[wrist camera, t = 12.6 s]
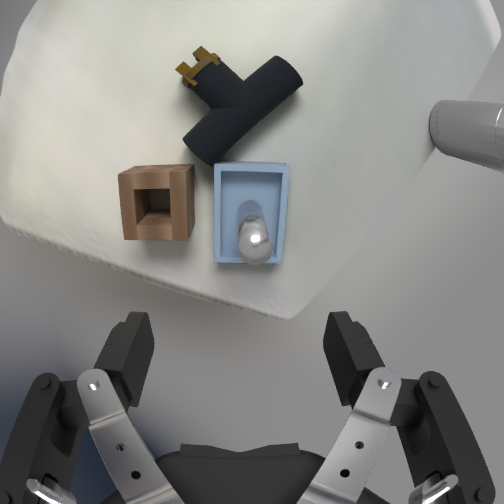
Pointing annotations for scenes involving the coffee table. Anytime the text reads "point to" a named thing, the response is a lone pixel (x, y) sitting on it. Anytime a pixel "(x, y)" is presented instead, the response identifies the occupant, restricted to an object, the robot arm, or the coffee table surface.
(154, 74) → the coffee table surface
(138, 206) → the pin block
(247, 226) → the pin
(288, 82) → the pipe connector
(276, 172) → the tray
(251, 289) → the coffee table surface
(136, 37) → the coffee table surface
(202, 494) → the robot arm
